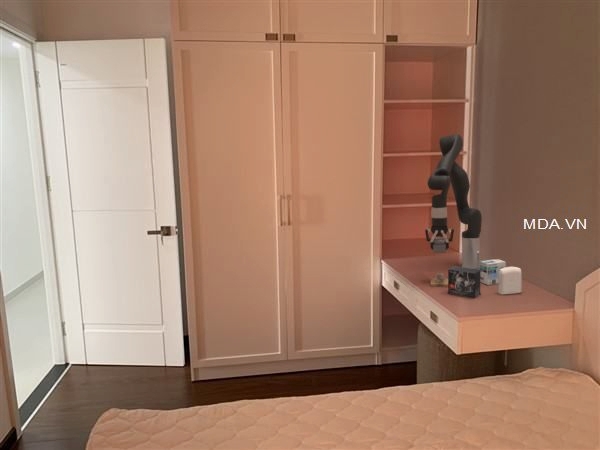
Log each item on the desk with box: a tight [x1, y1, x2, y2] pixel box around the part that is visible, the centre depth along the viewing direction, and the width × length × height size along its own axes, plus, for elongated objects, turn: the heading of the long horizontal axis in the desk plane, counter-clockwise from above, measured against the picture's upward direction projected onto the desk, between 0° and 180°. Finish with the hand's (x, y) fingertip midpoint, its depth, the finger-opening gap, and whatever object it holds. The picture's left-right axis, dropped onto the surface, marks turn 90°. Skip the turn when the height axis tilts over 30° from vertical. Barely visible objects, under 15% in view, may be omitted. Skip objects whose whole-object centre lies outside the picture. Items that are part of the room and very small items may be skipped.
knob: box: [432, 237, 447, 254], centre depth 238 cm, size 6×6×7 cm
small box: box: [447, 265, 481, 299], centre depth 222 cm, size 13×7×12 cm, turn 47°
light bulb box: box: [479, 258, 507, 286], centre depth 238 cm, size 11×7×11 cm, turn 105°
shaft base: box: [429, 273, 448, 288], centre depth 241 cm, size 11×11×5 cm
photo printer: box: [497, 266, 523, 295], centre depth 220 cm, size 10×4×12 cm, turn 96°
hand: (439, 249), depth 238 cm, fingers closed on knob, 6 cm apart
